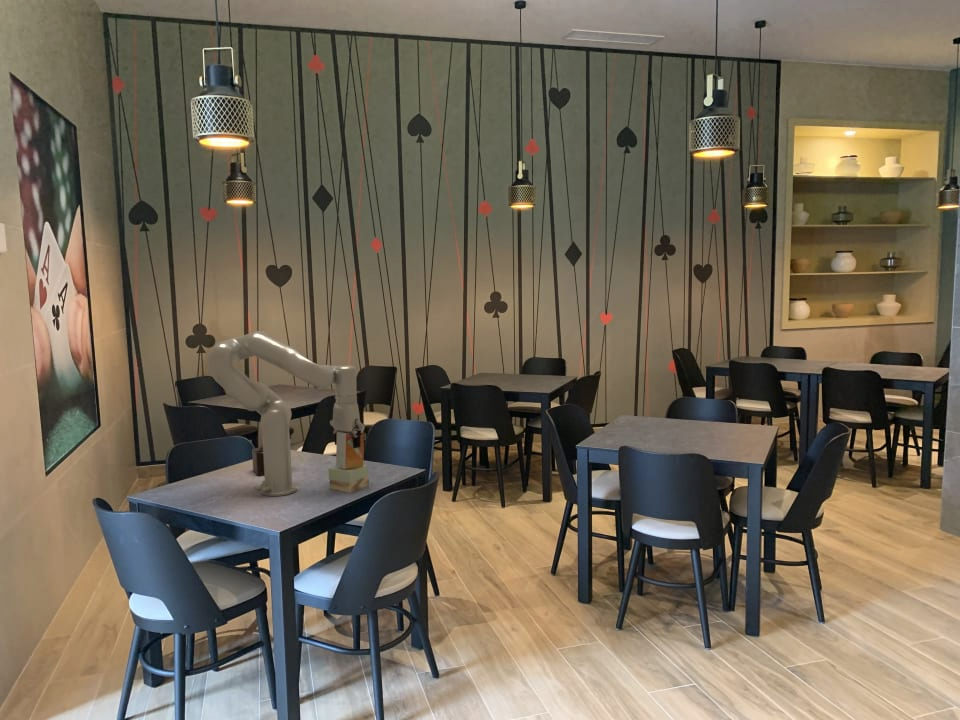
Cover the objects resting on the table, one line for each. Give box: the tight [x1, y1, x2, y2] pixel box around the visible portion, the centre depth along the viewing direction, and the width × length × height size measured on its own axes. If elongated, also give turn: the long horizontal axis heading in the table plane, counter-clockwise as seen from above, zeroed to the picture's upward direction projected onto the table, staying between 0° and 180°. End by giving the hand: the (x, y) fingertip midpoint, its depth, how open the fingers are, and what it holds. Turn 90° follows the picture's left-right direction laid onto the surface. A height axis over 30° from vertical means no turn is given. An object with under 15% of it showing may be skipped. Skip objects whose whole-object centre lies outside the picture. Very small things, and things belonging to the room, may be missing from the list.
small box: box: [335, 431, 365, 469], centre depth 269 cm, size 8×6×13 cm
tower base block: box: [329, 475, 370, 494], centre depth 270 cm, size 10×10×4 cm
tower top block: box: [327, 464, 369, 483], centre depth 270 cm, size 10×10×4 cm
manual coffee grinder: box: [251, 426, 295, 477], centre depth 296 cm, size 16×11×18 cm
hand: (347, 445), depth 268 cm, fingers open, 9 cm apart
